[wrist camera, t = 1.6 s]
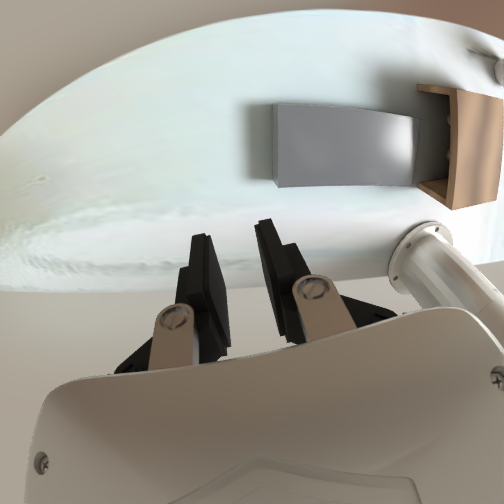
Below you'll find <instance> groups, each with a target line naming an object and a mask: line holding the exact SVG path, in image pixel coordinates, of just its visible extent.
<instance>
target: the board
mask: <svg viewBox="0 0 504 504" xmlns="http://www.w3.org/2000/svg"><path fill="white" fill-rule="evenodd" d="M272 121H273V181H274V182H275V184H276V185H277V187H278V188H283V187H306V186H349V185H378V186H412V181H413V175H414V168H415V161H416V153H417V145H418V135H419V124H420V119H417V118H413V117H409V116H405V115H399V114H393V113H387V112H381V111H374V110H366V109H358V108H349V107H339V106H326V105H308V104H272Z"/></svg>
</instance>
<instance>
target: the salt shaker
mask: <svg viewBox="0 0 504 504" xmlns="http://www.w3.org/2000/svg"><path fill="white" fill-rule="evenodd" d="M494 69H495V77H496V79H497V80H498V82H499V84H500V85H501V86H502V87H504V59H502V60H500V61H497V63H496V64H495V66H494Z"/></svg>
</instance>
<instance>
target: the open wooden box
mask: <svg viewBox="0 0 504 504" xmlns="http://www.w3.org/2000/svg"><path fill="white" fill-rule="evenodd" d="M417 90H418V91H425V92H432V93H439V94H445V95H449V96H450V114H448V116H447V122H448V124H449V125H451V139H450V149H449V150H448V151H447V159H448V160H450V164H449V178H448V179H442V180H435V181H427V182H421V183H419V187H418V189H420V190H422V191H423V192H425V193H426V194H428V195H430V196H431V197H433V198H434V199H436V200H437V201H439V202H440V203H442V204H443V205H445V206H446V207H448V208H449V209H450V210H456V209H460V208H465V207H469V206H473V205H478V204H482V203H486V202H491V201H495V200H496V198H497V193H498V186H499V179H500V171H501V162H502V150H503V130H504V106H503V99H499V98H495V97H491V96H487V95H483V94H479V93H474V92H469V91H464V90H458V89H452V88H445V87H438V86H429V85H419V84H417Z"/></svg>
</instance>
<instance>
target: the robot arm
mask: <svg viewBox="0 0 504 504" xmlns="http://www.w3.org/2000/svg"><path fill="white" fill-rule="evenodd" d="M258 222H259V224H257V225H254V227H255V232H256V237H257V242H258V247H259V252H260V257H261V262H262V268H263V273H264V277H265V282H266V285H267V289H268V293H269V297H270V300H271V304H272V308H273V311H274V315H275V319H276V323H277V327H278V331H279V334H280V336H284V335H285V337H286V340H287V343H289V342H292V343H295V344H297V345H295V346H290V347H286V348H282V349H277V350H273V351H268V352H264V353H259V354H254V355H249V356H244V357H239V358H233V359H228V360H223V361H217V360H218V359H219V358H220V357H221V356H227V347H231V340H230V329H229V318H228V308H227V296H226V287H225V283H224V279H223V276H222V273H221V269H220V266H219V263H218V260H217V256H216V253H215V249H214V246H213V243H212V239H211V236H210V235H208V236H206V235H205V233H202V234H198V235H194V236H192V241H191V249H190V258H189V266H187V267H183V268H180V271H179V277H178V284H177V291H176V299H175V304H174V305H170V306H168V307H166V308H165V309H163V310H162V311H161V312H160V313H159V315H158V316H157V318H156V322H155V328H154V333H153V337H151V338H150V339H149V340H148V341H147V342H146V343H145V344H143V345H142V346H141V347H140V348H139V349H138V350H137V351H135V352H134V353H133V354H132V355H131V356H129V357H128V358H127V359H126V360H125V361H124V362H123V363H121V364H120V365H119V366H118V367H117V369H116V370H115V372H114V374H107V375H100V376H91V377H85V378H80V379H77V380H73V381H70V382H68V383H65V384H63V385H60V386H59V387H57V388H55V389H54V390H53V391H51V392H50V393H49V394H48V395H47V397H46V399H45V400H44V402H43V404H42V407H41V409H40V412H39V415H38V418H37V421H36V424H35V428H34V432H33V436H32V441H31V445H30V451H29V457H28V464H27V472H26V482H25V498H24V504H504V296H503V295H502V294H501V293H500V292H499V291H498V290H497V289H496V287H495V286H494V285H493V284H492V283H491V282H490V281H489V280H488V279H487V278H486V277H485V276H484V275H483V274H482V273H481V272H480V271H479V270H478V269H477V268H476V267H475V266H474V265H473V264H472V263H470V262H469V261H468V260H467V259H466V258H465V257H464V256H463V255H462V254H461V253H460V252H459V251H457V250H456V249H455V248H454V247H453V241H452V236H451V233H450V231H449V230H448V229H447V228H446V227H445V226H444V225H442V224H441V223H438V222H427V223H424V224H422V225H419V226H418V227H416V228H415V229H413V230H412V231H411V232H410V233H408V234H407V235H406V236H405V237H404V239H403V240H402V241H401V242H400V244H399V245H398V246H397V248H396V250H395V252H394V254H393V255H392V258H391V261H390V264H389V269H388V277H389V281H390V283H391V285H392V286H393V288H394V289H395V290H396V291H397V292H399V293H401V294H407V295H409V294H412V296H413V297H414V298H415V299H416V301H417V302H418V303H419V305H420V306H421V307H422V309H421V310H417V311H413V312H408V313H402V315H399V316H398V315H397V314H396V313H394V312H393V311H391V310H389V309H386V308H382V307H379V306H376V305H373V304H369V303H366V302H363V301H359V300H356V299H352V298H349V297H346V296H343V295H339V293H338V291H337V289H336V287H335V286H334V284H333V282H332V281H331V280H330V279H329V278H327V277H325V276H322V275H311V273H310V271H309V269H308V267H307V265H306V263H305V261H304V259H303V257H302V255H301V253H300V251H299V249H298V247H297V245H296V243H291V244H287V245H282V243H281V241H280V238H279V236H278V234H277V231H276V229H275V227H274V224H273V222H272V220H271V218H270V219H265V220H260V221H258Z"/></svg>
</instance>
